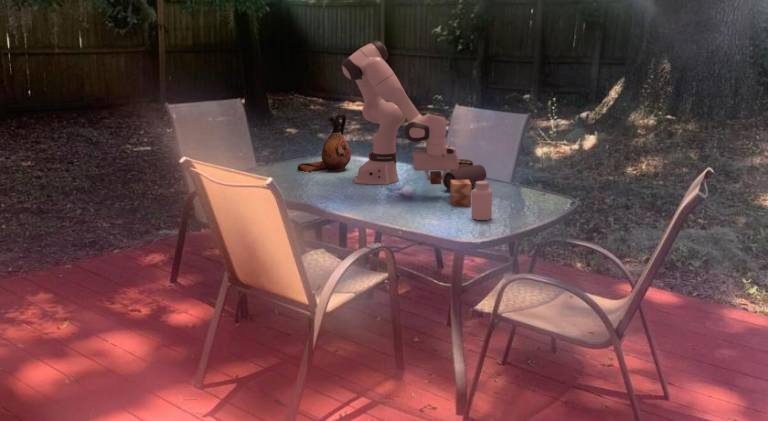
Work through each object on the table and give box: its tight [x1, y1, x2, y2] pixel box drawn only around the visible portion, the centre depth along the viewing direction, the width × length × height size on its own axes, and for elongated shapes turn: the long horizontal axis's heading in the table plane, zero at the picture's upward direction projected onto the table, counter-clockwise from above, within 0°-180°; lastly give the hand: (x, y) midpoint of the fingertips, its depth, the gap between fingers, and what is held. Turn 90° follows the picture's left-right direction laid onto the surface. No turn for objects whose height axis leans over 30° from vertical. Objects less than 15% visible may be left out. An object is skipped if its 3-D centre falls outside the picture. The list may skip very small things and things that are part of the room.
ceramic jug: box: [321, 113, 352, 173], centre depth 358 cm, size 17×15×30 cm
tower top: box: [449, 180, 472, 196], centre depth 293 cm, size 8×8×5 cm
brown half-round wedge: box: [449, 158, 474, 171], centre depth 337 cm, size 12×6×10 cm, turn 84°
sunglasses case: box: [297, 160, 327, 173], centre depth 364 cm, size 18×7×7 cm, turn 130°
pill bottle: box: [471, 180, 493, 221], centre depth 272 cm, size 8×8×15 cm
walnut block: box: [429, 170, 442, 185], centre depth 305 cm, size 4×4×5 cm
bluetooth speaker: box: [442, 164, 487, 191], centre depth 322 cm, size 23×9×10 cm, turn 135°
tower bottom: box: [450, 193, 472, 208], centre depth 295 cm, size 8×8×5 cm
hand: (435, 179), depth 305 cm, fingers closed on walnut block, 4 cm apart
